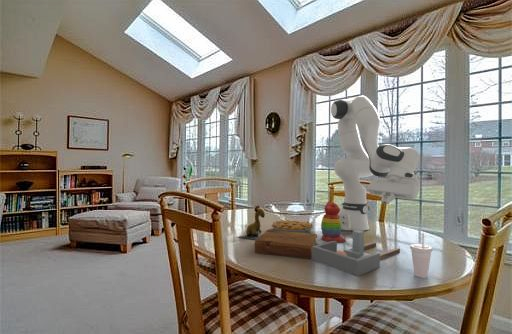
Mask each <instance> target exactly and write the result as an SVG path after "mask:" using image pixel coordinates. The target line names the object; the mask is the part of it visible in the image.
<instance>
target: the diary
mask: <svg viewBox="0 0 512 334" xmlns="http://www.w3.org/2000/svg"><path fill="white" fill-rule="evenodd" d="M264 232H265V233H264V234H263V233H261V234H262V235H261V234H260V235H261V236H260V237H259V238H257V239H256V240H254V253H255V254H264V255H272V256H281V257H288V258H289V257H290V258H299V259H305V260H306V259H309V260H312V246H315V245H318V244H316V240H317V238H318V233H297V232H285V231H274V229H273V230H272V229H270V230H269V229H267V230H266V231H264Z"/></svg>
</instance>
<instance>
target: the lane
mask: <svg viewBox="0 0 512 334" xmlns="http://www.w3.org/2000/svg"><path fill="white" fill-rule="evenodd" d="M374 247H377V242H374V241H372V242H368V243H366V244H365V243H364V251H366V250H369V249H372V248H374ZM348 249H349V250H352V248H348ZM399 253H401V249H400V248H399V247H394V248H392V249H389V250H386V251H384V252H381V253H380V261H381V260H383V259H386V258H389V257H391V256H394V255H397V254H399Z"/></svg>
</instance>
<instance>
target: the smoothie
mask: <svg viewBox="0 0 512 334" xmlns="http://www.w3.org/2000/svg"><path fill="white" fill-rule="evenodd" d="M409 249H410V251H411V259H412V267H413V274H414V276H415V277H418V278H421V279H425V278H426V279H427V278H428V275H429V268H430V262H431V261H430V260H431V257H432V252H433V247H432V246H430V245H428V244H425V233H424V232H422V233H421V243H410V245H409Z"/></svg>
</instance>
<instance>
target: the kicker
mask: <svg viewBox="0 0 512 334" xmlns="http://www.w3.org/2000/svg"><path fill="white" fill-rule="evenodd" d="M351 245H352V248H351V249H352V250H349V249H350V248H345V249H343V251H344V252H345V253H346V254H347V256H349V257H352V258H355V259H358V258H361V257H364V256H366V255H369V254H370V253H367V252H365V250H364V245H365V230H363V231H359V230H352V244H351Z"/></svg>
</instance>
